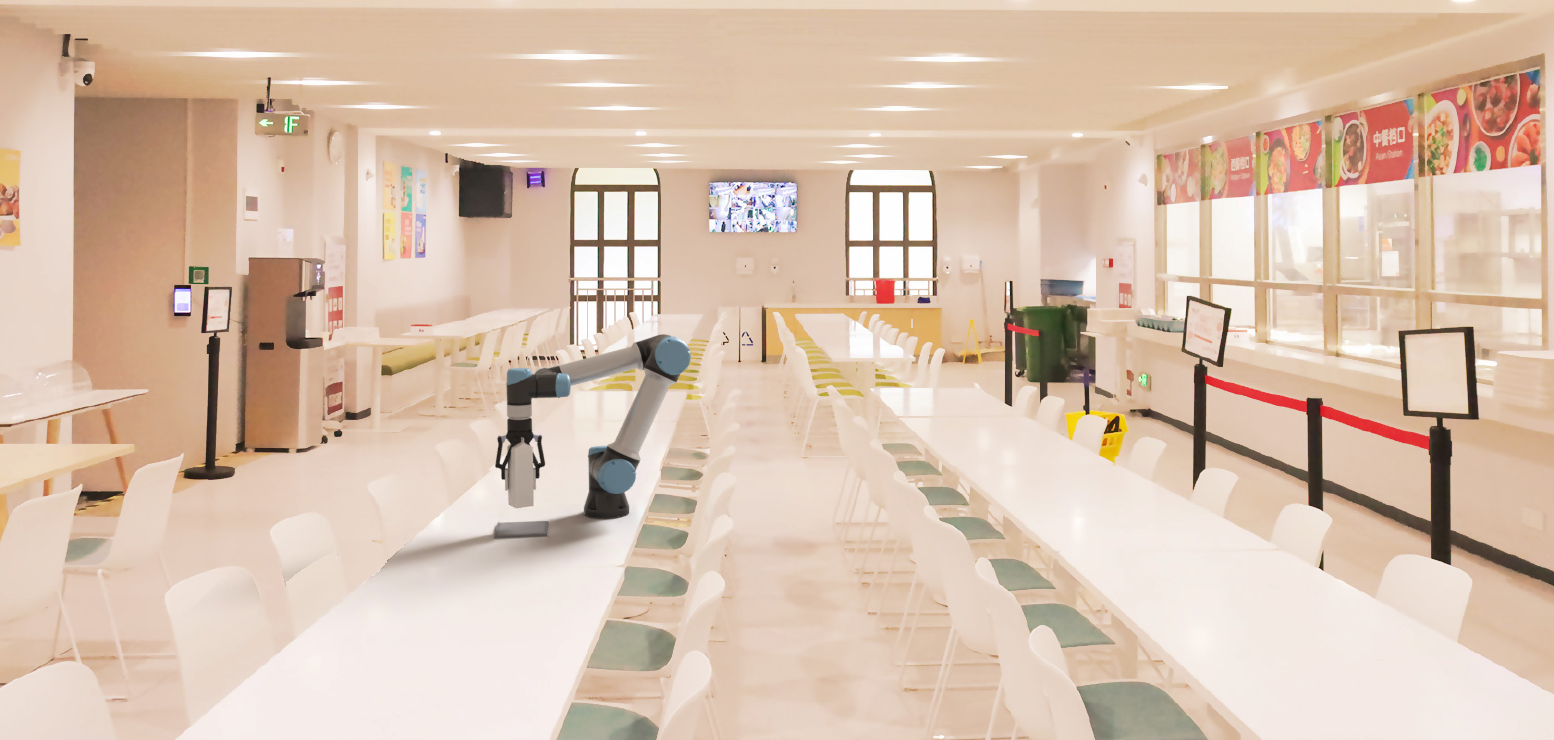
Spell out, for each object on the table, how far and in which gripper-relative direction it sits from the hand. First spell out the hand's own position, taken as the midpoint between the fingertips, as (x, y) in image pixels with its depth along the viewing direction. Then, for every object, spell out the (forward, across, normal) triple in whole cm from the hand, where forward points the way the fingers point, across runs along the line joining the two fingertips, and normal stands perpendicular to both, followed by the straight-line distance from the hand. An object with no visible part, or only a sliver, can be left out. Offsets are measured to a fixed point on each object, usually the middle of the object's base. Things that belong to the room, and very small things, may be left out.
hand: (520, 489), depth 341 cm
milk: (+5, 0, 0) cm, 5 cm away
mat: (+13, 0, 0) cm, 13 cm away
